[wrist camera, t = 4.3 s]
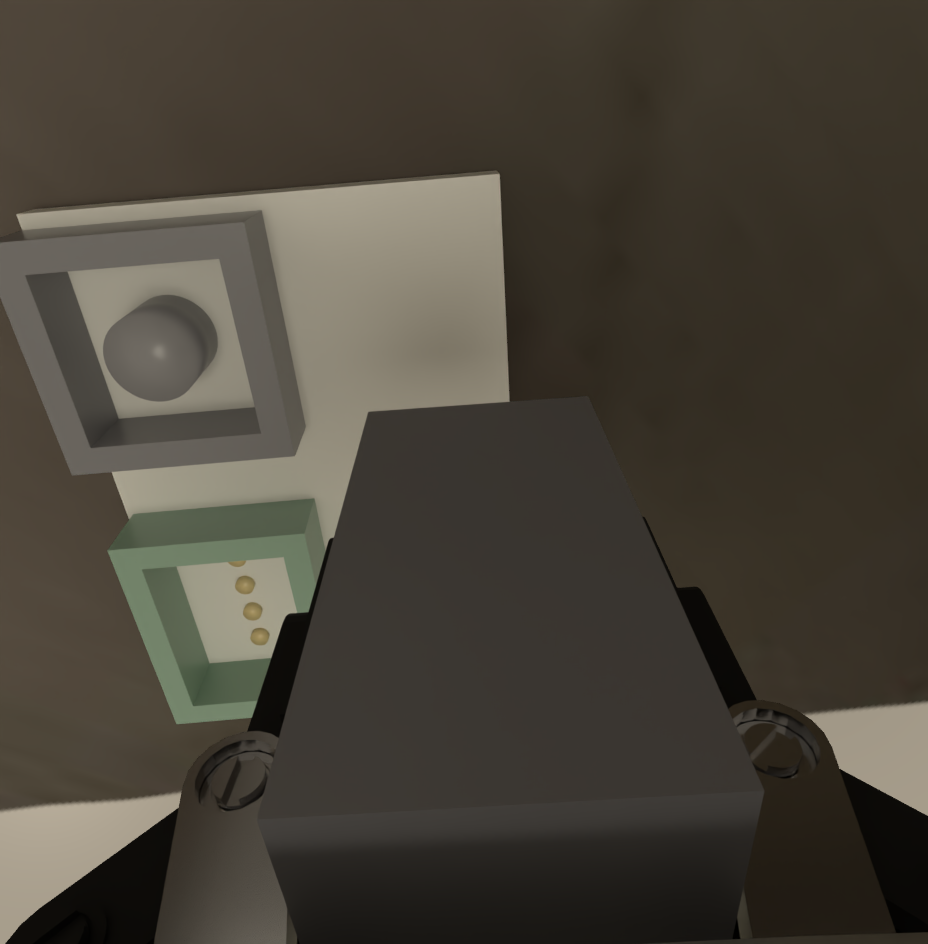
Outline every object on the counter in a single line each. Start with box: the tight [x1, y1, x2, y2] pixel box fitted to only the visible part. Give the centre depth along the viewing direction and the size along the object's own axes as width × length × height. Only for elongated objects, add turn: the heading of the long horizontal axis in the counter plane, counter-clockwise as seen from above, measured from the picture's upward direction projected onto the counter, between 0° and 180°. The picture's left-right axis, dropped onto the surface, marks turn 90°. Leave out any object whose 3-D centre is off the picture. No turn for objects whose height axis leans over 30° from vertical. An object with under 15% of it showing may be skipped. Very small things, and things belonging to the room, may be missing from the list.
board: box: [0, 171, 510, 663], centre depth 27 cm, size 16×22×4 cm
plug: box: [257, 396, 764, 944], centre depth 11 cm, size 4×7×8 cm, turn 4°
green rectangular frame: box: [108, 498, 326, 724], centre depth 29 cm, size 8×10×3 cm
